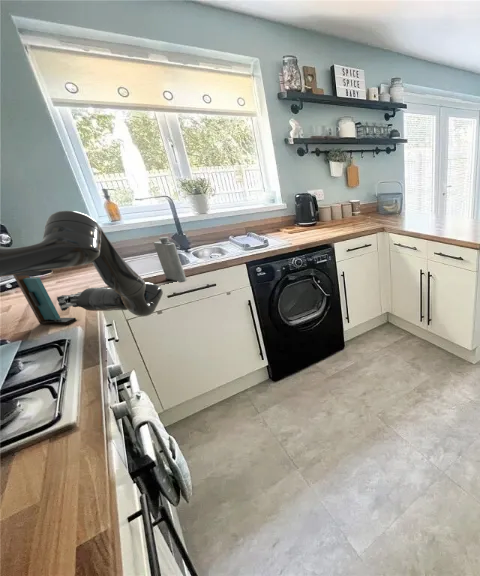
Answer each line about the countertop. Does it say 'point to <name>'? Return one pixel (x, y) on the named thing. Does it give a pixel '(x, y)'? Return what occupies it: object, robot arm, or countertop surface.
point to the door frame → (35, 309)
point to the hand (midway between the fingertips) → (60, 299)
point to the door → (41, 298)
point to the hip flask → (169, 260)
